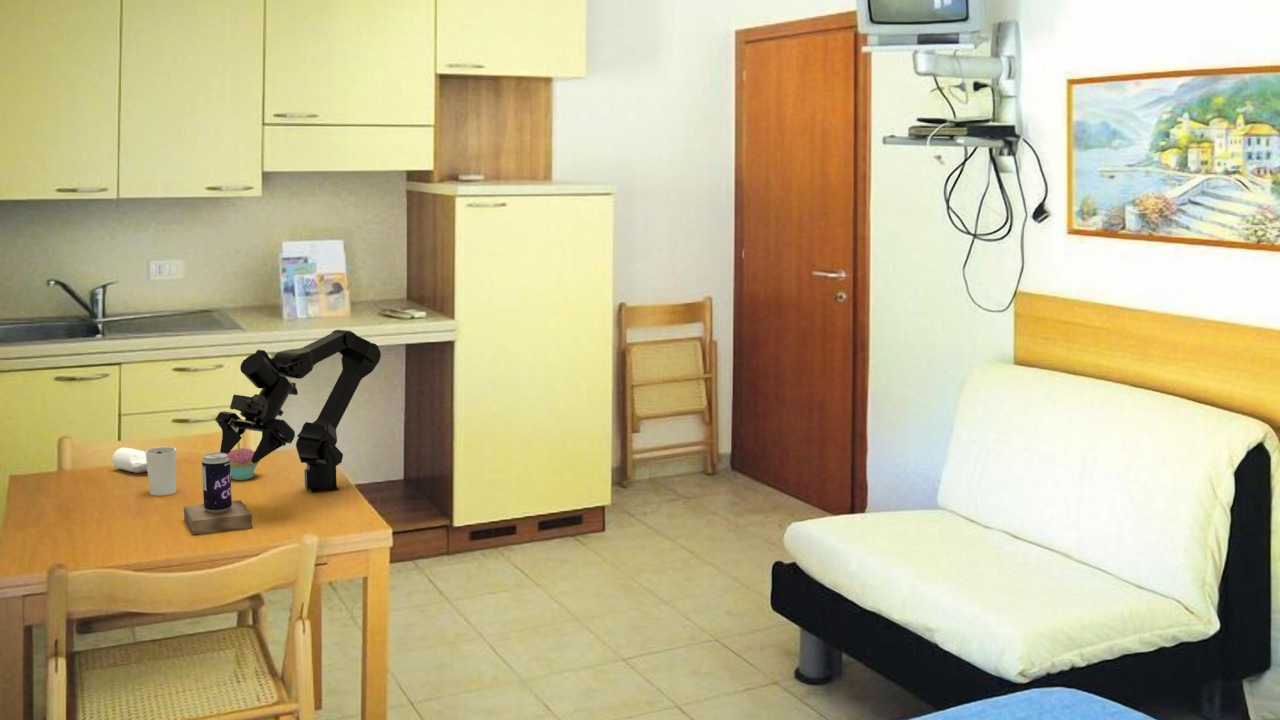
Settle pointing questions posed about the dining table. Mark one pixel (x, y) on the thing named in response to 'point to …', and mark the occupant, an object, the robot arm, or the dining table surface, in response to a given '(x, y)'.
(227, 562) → the dining table surface
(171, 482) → the grey cylinder
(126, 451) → the roll
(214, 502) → the beverage can
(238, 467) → the cupcake
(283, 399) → the robot arm
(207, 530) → the walnut base
